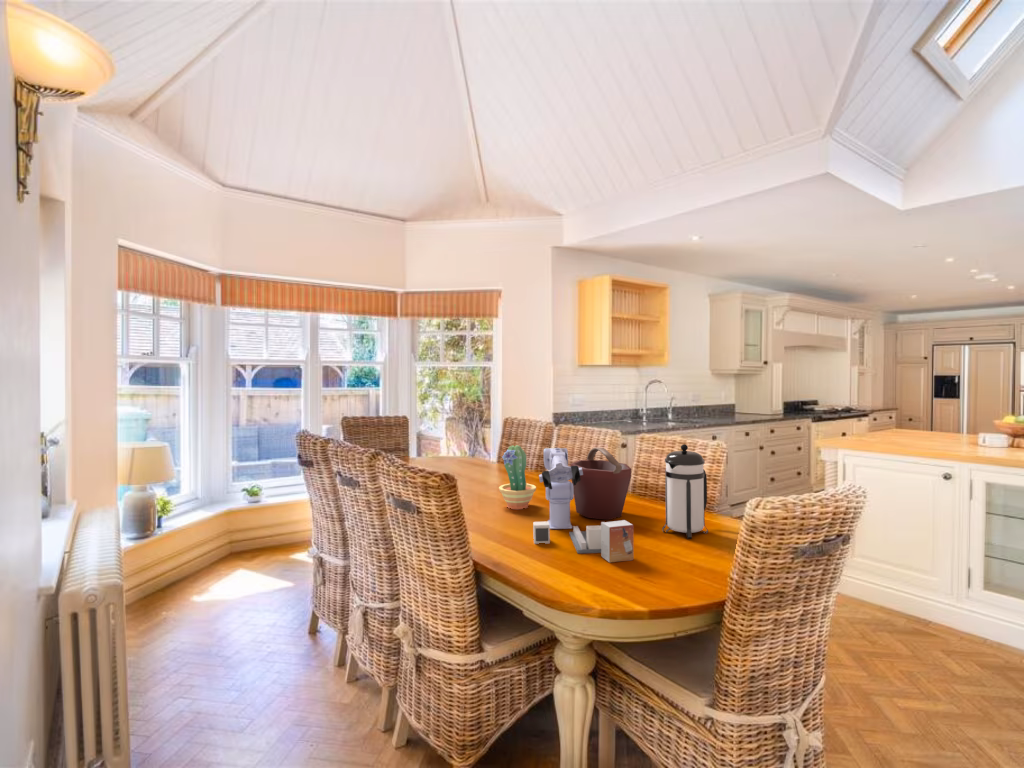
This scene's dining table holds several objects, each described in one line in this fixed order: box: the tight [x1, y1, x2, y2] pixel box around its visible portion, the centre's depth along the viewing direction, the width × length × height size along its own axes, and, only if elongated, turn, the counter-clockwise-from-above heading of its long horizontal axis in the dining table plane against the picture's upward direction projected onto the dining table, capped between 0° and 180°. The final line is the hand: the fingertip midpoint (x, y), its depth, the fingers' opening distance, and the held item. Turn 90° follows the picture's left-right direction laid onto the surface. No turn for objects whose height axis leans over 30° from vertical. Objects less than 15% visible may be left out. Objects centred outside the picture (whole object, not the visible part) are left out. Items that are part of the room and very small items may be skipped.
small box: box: [600, 519, 634, 563], centre depth 155 cm, size 8×6×10 cm
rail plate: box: [569, 524, 601, 554], centre depth 169 cm, size 18×12×7 cm, turn 2°
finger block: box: [532, 520, 551, 545], centre depth 171 cm, size 4×5×6 cm
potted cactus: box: [498, 444, 537, 510], centre depth 215 cm, size 15×15×25 cm
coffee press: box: [661, 443, 709, 540], centre depth 179 cm, size 17×16×30 cm
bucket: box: [570, 447, 632, 521], centre depth 201 cm, size 24×22×25 cm
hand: (562, 484), depth 167 cm, fingers open, 7 cm apart
